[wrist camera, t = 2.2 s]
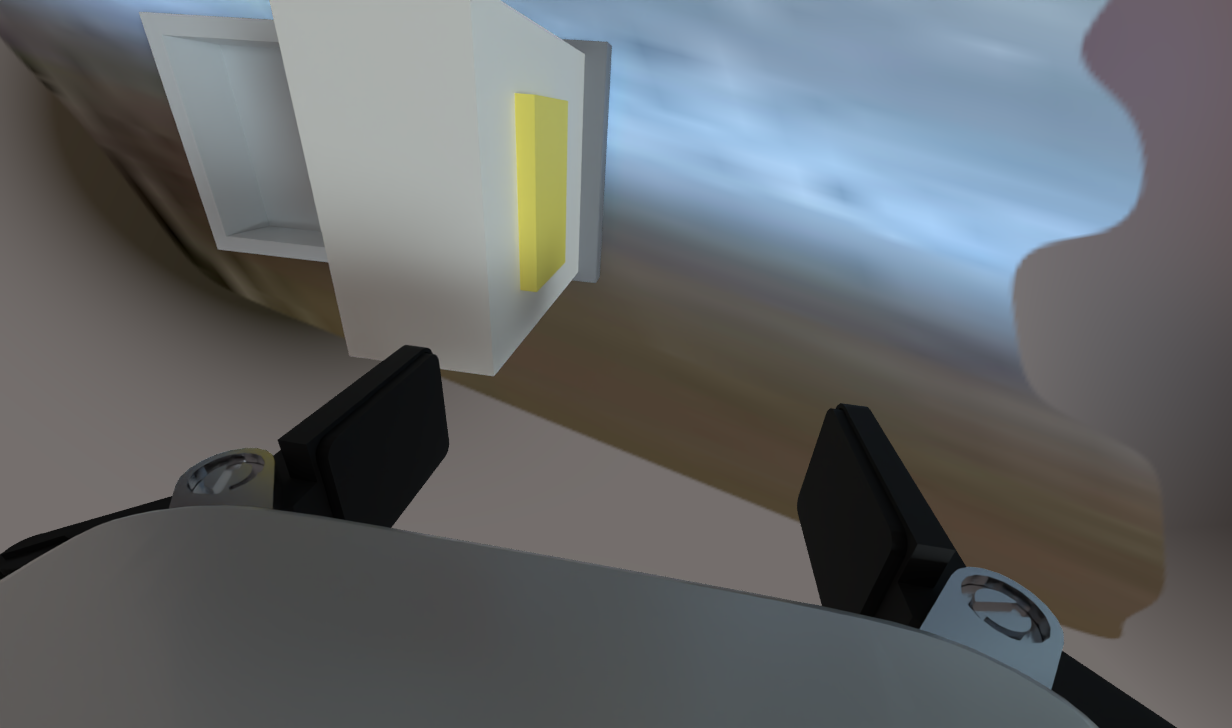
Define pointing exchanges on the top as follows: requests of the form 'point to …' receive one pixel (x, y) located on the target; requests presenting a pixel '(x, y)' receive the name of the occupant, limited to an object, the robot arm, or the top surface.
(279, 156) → the tray
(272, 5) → the block
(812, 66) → the top surface
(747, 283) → the top surface
